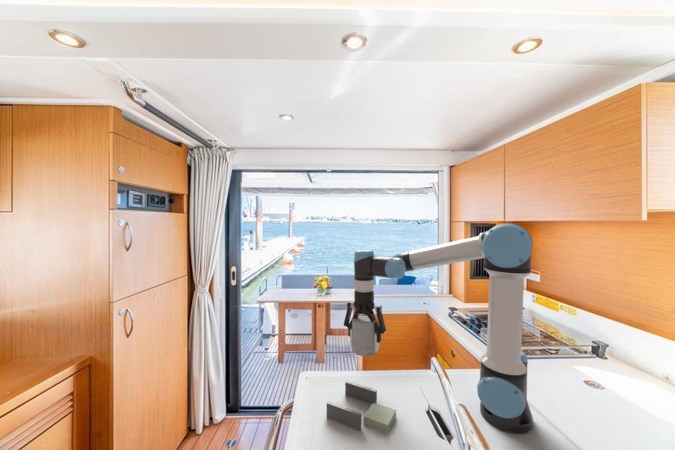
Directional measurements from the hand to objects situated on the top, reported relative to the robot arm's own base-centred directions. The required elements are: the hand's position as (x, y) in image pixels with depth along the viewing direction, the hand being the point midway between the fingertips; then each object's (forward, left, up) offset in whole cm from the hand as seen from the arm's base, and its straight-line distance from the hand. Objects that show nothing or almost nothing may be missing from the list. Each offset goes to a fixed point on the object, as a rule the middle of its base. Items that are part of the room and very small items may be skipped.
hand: (364, 347), depth 110 cm
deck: (-12, +14, -16) cm, 24 cm away
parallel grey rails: (-2, +14, -16) cm, 21 cm away
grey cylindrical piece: (0, 0, -1) cm, 1 cm away
